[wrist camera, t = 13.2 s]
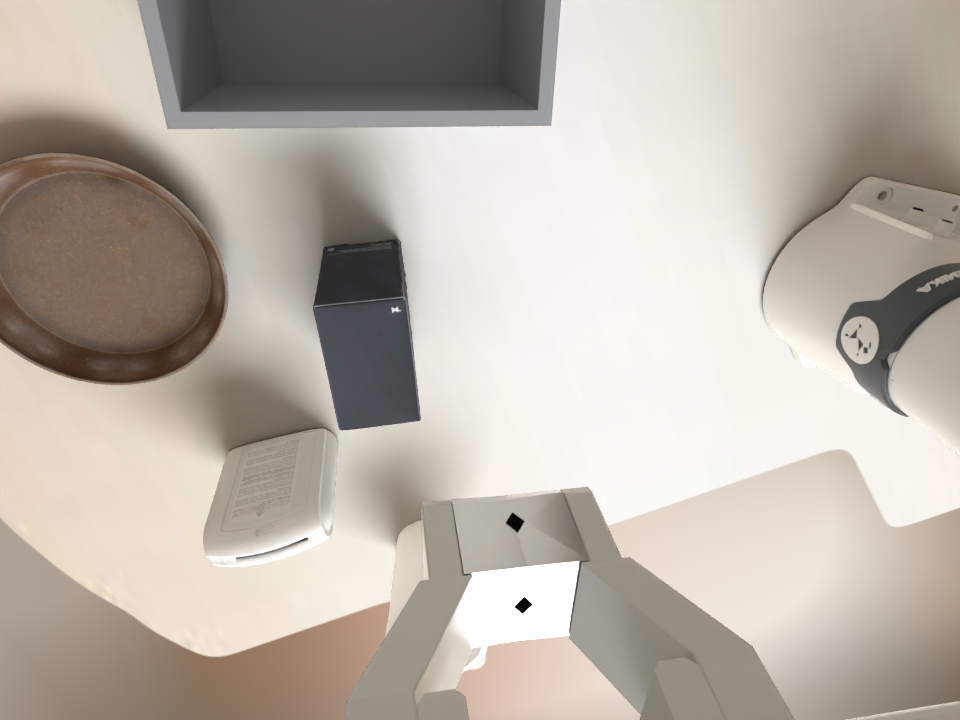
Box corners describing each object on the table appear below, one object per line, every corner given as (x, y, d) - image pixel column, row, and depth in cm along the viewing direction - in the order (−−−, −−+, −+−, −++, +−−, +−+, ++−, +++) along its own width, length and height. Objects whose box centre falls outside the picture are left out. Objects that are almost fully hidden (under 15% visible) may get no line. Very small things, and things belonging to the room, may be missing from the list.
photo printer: (238, 481, 58) (211, 589, 47) (219, 447, 56) (187, 553, 45) (344, 454, 58) (340, 556, 48) (330, 420, 56) (322, 519, 46)
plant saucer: (73, 85, 39) (53, 92, 37) (282, 273, 48) (278, 289, 46) (-85, 256, 43) (-113, 273, 41) (137, 401, 52) (125, 423, 49)
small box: (317, 245, 47) (307, 304, 38) (400, 236, 48) (409, 293, 39) (340, 360, 53) (335, 434, 44) (414, 351, 54) (425, 422, 45)
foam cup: (370, 523, 63) (372, 634, 53) (455, 498, 64) (474, 604, 53) (398, 578, 69) (404, 691, 58) (476, 555, 69) (498, 662, 58)
